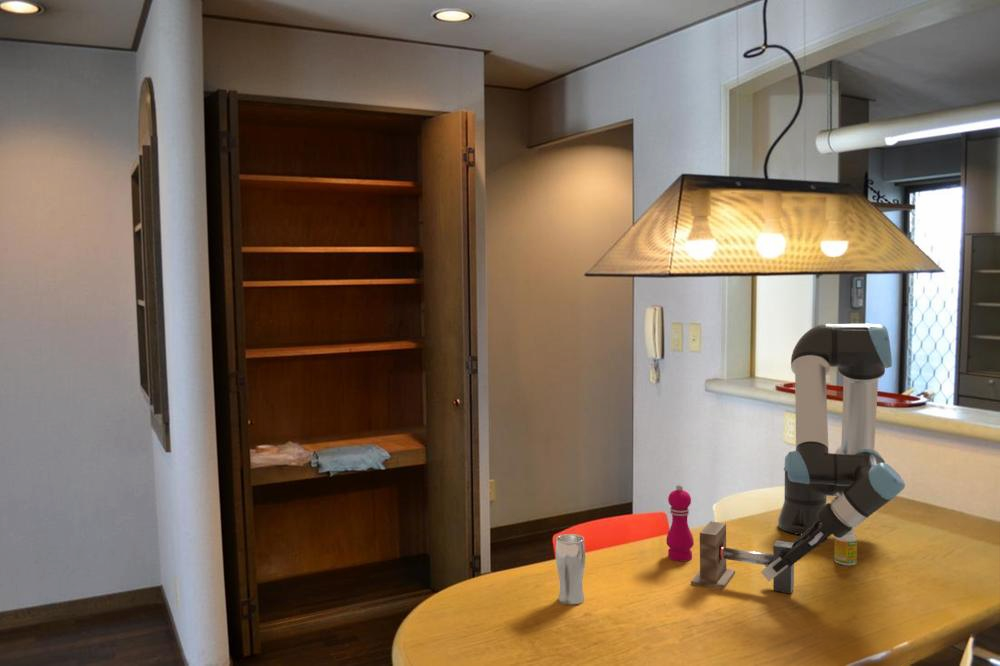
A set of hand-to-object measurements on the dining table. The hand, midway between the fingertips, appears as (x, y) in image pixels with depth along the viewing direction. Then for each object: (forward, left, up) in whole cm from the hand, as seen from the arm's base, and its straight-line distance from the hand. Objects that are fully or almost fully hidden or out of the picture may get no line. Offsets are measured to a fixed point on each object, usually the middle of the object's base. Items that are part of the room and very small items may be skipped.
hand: (767, 572), depth 190 cm
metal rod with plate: (+2, -2, -3) cm, 4 cm away
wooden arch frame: (+10, -8, -4) cm, 14 cm away
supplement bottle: (-28, -10, -4) cm, 30 cm away
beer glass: (+48, -4, -4) cm, 48 cm away
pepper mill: (+12, -24, -4) cm, 27 cm away
